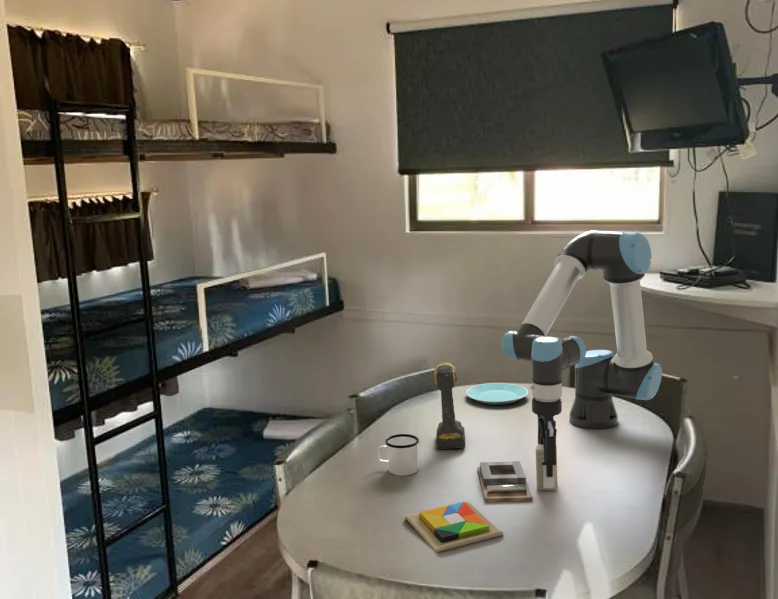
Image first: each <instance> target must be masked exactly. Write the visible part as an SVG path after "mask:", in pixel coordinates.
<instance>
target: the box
mask: <svg viewBox="0 0 778 599" xmlns="http://www.w3.org/2000/svg"><path fill="white" fill-rule="evenodd" d="M557 452H558V449H557V445H556V465H554V488H544V487H543V465H542V463H541V462H544V444H538V443H537V445H536V448H535V471H536V472H535V473H536V476H535V477H536V490H541V491H555V492H556V491H557V488H558V486H559V485H558V455H557V454H558V453H557Z"/></svg>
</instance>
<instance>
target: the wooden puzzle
mask: <svg viewBox="0 0 778 599" xmlns="http://www.w3.org/2000/svg"><path fill="white" fill-rule="evenodd" d="M404 520H407V521H408V522H409V524H410V525H411V526H412V527H413V528H414V529H415V531H416V532H417V534H419V535H420V536H421V538H423V540H424V541H425V542H426V544H427V545H429V547H430V548H431V549H432V550H433V551H435V552H436V553H441V552H445V551H447V550H452V549H456V548H459V547H463V546H467V545H470V544H471V545H472V544H474V543H478V542H483V541H486V540H489V539H493V538H498V537H502V536H504V531H503V530H501V529H499V528H498V527H497V526H496V525H494V524H493V523H492V522H491V521H490V520H489V519H488V518H487V517H486V516H485V515H483V513H482V512H480V510H478V509H477V508H476V506H474V505H473V504H472V503H471V502H470V501H468V500H467V501H462V502H457V503H451V504H447V505H442V506H439V507H435V508H431V509H430V508H429V509H426V510H423V511H420V512H416V513H411V514H407V515H404Z"/></svg>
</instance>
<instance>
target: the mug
mask: <svg viewBox="0 0 778 599" xmlns="http://www.w3.org/2000/svg"><path fill="white" fill-rule="evenodd" d="M419 442H420V440H419V438H418V437H417V435H416V436H415V435H413V434H409V433H408V434H407V433H406V434H405V433H400V434H399V433H398V434H393V435H390V436H388V437H386V438H385V441H384V443H385V445H384V444H383V445H379V446H378V447H377V458H378V461H379V462H381V463H386V464H387V471H388V472H389V473H390V474H392V475H394V476H399V477H400V476H401V477H404V476H410V475H413V474H415V473H417V472H418V470H419V469H418V468H419V467H418V465H419V464H418V463H419V462H418V444H419ZM381 448H383V449H387V459H381V453H380V450H381Z"/></svg>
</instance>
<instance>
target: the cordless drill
mask: <svg viewBox="0 0 778 599" xmlns="http://www.w3.org/2000/svg"><path fill="white" fill-rule="evenodd" d="M433 376H434V383H435V385H436V387H437V388H438V389H439V391H440V397H441V398H440V401H441V403H440V404H441V418H442V421H441V422H439V423H438V425H437V428H436V438H435V440H436V441H435V444H436V449H437V450H445V449H460V448H461V449H463V448H466V435H465V434H466V432H465V431H466V430H465V426H463V425H462V422H461V421H460V420H458V419H456V415H455V414H456V413H455V405H454V404H455V403H454V398H453V396H454V395H453V388H454V387H455V384H456V382H457V381H458V378H457V369H456V367H455V365H453V363H451V362H449V361H442V362H440V363H439V364H438V365H437V366H436V367H435V368H434V372H433Z"/></svg>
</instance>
